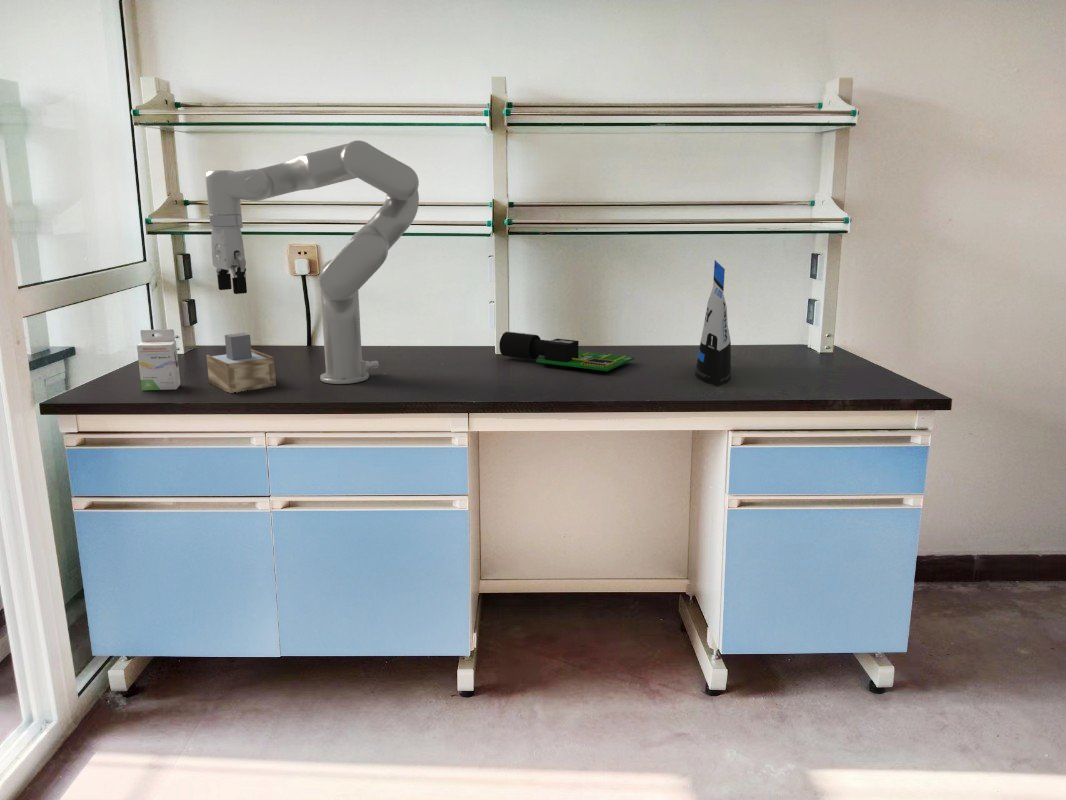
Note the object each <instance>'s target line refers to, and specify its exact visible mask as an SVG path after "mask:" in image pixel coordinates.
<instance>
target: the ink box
mask: <svg viewBox="0 0 1066 800" xmlns="http://www.w3.org/2000/svg"><path fill="white" fill-rule="evenodd" d="M139 332H140V338H141V341H140V342H139V343H138V344H137V345H136V351H137V360H138V368H139V369H138V370H139V377H140V386H141V391H162V390H163V391H165V390H166V391H168V390H177V389H178V388H179V387H180V385H181V376H180V367H179V358H178V348H177V347H178V346H177V341H176V338H175V330H174V329H173V328H170V329H169V328H167V329H163V328H162V329H141V330H140V331H139ZM156 334H159V336H154V335H156ZM160 335H162V336H160Z"/></svg>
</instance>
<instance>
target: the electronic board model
mask: <svg viewBox="0 0 1066 800" xmlns="http://www.w3.org/2000/svg"><path fill="white" fill-rule="evenodd" d="M498 344H499V345H498V346H499V352H500V354H501V355H502V357H509V358H517V359H525V360H532V361H535V362H536V363H539V364H540V363H541V364H544V367H545V368H551V369H560V370H569V369H571V368H573V367H574V368H580V369H586V370H587V369H589V370H595V371H603V372H609V371H611V370H613V369H616V368H617V367H619V366H623V365H625V364H627V363H629V362H632V361H634V360H635V357H634V356H627V355H619V354H612V353H610V354H608V353H601V352H593V351H584V350H579V340H574V339H566V338H565V339H564V338H555V339H551V340H547V339H541V337H540V336H539V335H538V334H534V333H526V332H515V331H505V332H504V333H502V335H501V336H500V339H499V343H498ZM540 356H543V357H541V358H539V357H540Z"/></svg>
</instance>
